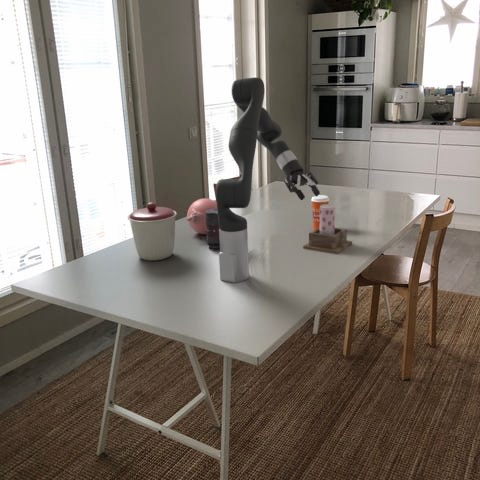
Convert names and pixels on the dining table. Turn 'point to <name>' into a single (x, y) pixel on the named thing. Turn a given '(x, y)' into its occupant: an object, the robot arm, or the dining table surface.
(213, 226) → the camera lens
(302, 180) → the robot arm
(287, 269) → the dining table surface
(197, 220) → the pink piggy bank
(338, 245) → the can socket
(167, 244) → the canister
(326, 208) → the beverage can
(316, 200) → the paper cup
